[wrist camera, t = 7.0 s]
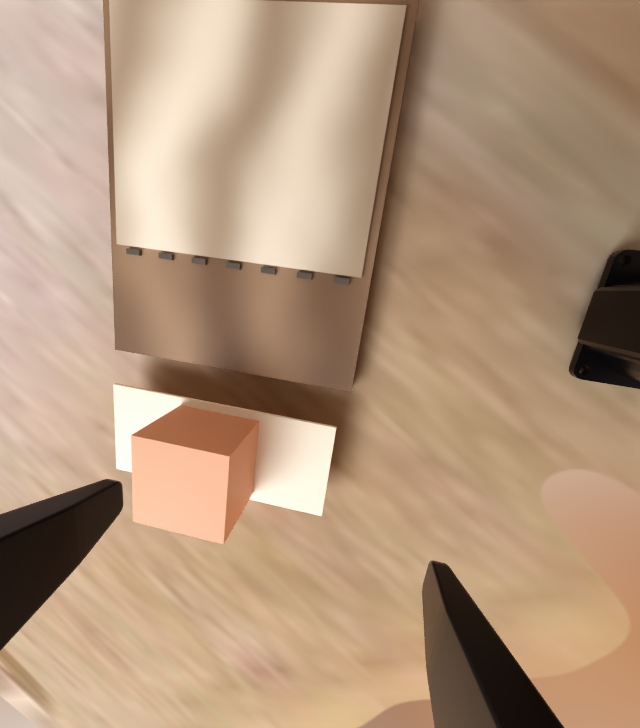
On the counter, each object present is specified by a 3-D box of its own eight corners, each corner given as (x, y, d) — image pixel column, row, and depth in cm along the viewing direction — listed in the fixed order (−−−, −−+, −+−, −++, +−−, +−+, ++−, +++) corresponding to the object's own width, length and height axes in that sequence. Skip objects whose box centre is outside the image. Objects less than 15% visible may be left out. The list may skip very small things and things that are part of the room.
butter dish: (336, 426, 17) (327, 467, 13) (322, 513, 19) (309, 574, 15) (115, 383, 19) (47, 408, 15) (118, 467, 20) (57, 510, 16)
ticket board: (415, 21, 14) (420, -10, 13) (352, 385, 19) (351, 393, 17) (123, 9, 16) (98, -19, 14) (130, 345, 20) (112, 350, 19)
